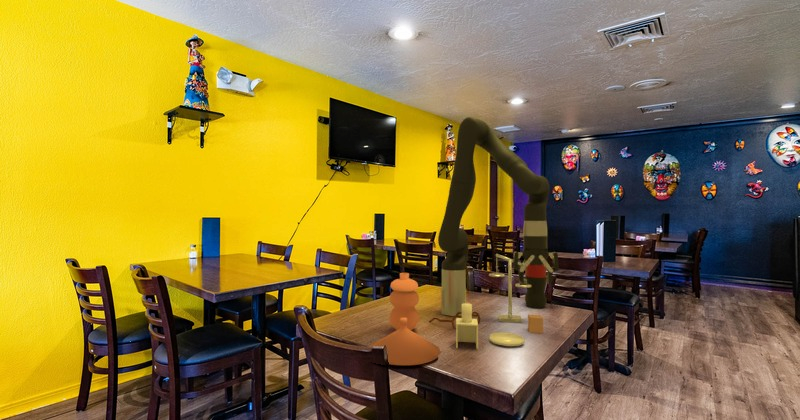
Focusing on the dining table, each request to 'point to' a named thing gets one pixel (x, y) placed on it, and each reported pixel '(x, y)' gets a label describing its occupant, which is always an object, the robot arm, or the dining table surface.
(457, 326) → the hood
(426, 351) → the ceramic vessels
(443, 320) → the glasses
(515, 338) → the dish
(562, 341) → the dining table surface
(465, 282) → the robot arm
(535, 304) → the cola bottle
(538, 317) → the block
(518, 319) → the balance
